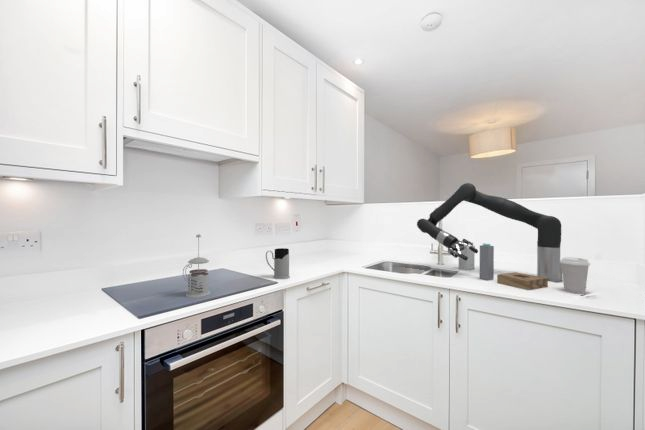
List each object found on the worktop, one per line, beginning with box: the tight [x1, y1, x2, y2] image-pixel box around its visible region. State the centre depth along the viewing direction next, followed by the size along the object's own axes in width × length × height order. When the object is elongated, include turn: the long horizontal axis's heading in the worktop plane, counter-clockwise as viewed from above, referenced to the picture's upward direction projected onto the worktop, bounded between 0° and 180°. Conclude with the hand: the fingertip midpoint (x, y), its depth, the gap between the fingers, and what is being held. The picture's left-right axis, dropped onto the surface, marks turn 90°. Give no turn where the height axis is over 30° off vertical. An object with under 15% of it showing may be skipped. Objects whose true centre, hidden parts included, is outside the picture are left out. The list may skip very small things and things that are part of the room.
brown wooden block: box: [496, 271, 549, 291], centre depth 129 cm, size 14×14×5 cm
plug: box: [479, 242, 495, 281], centre depth 140 cm, size 4×4×19 cm
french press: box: [182, 234, 212, 298], centre depth 116 cm, size 10×12×25 cm
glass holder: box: [265, 247, 291, 280], centre depth 148 cm, size 9×14×15 cm, turn 68°
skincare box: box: [458, 245, 476, 271], centre depth 171 cm, size 8×6×15 cm
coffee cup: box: [560, 256, 591, 297], centre depth 118 cm, size 10×10×15 cm
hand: (472, 255), depth 148 cm, fingers open, 8 cm apart
